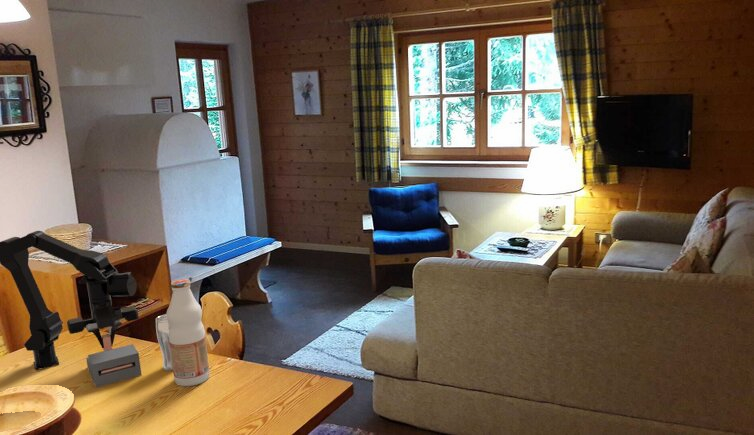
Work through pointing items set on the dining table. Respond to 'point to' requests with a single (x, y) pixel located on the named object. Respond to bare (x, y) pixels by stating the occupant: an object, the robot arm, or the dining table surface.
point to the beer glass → (164, 341)
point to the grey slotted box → (111, 360)
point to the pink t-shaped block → (108, 346)
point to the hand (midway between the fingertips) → (107, 346)
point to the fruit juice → (187, 336)
